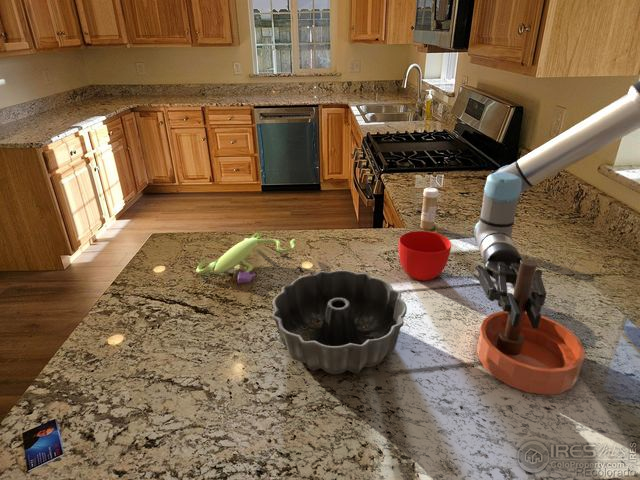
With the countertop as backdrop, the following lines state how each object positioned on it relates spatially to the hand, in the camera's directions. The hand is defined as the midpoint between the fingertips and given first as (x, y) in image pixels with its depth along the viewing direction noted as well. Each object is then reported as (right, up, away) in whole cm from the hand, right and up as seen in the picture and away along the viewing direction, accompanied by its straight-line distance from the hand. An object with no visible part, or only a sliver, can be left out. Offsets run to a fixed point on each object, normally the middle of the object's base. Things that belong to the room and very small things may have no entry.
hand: (526, 320), depth 73 cm
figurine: (-55, +7, +46) cm, 72 cm away
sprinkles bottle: (0, +17, +66) cm, 68 cm away
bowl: (+4, -10, +9) cm, 14 cm away
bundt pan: (-32, -8, +15) cm, 36 cm away
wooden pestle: (+1, -7, +9) cm, 12 cm away
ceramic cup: (-8, +5, +41) cm, 42 cm away
